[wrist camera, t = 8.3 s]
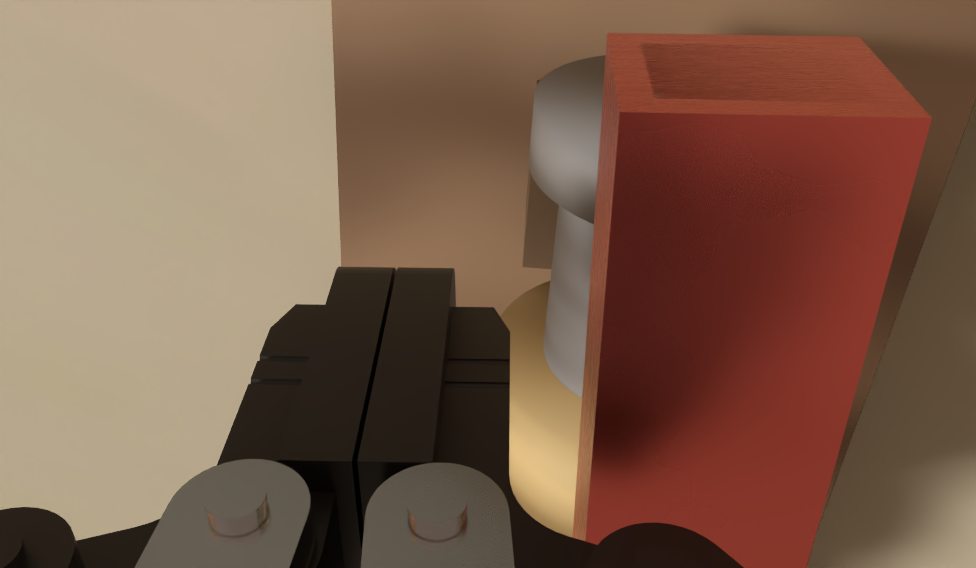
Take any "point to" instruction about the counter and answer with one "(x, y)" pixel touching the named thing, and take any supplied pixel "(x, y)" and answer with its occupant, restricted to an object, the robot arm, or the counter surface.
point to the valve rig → (570, 166)
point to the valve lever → (735, 280)
